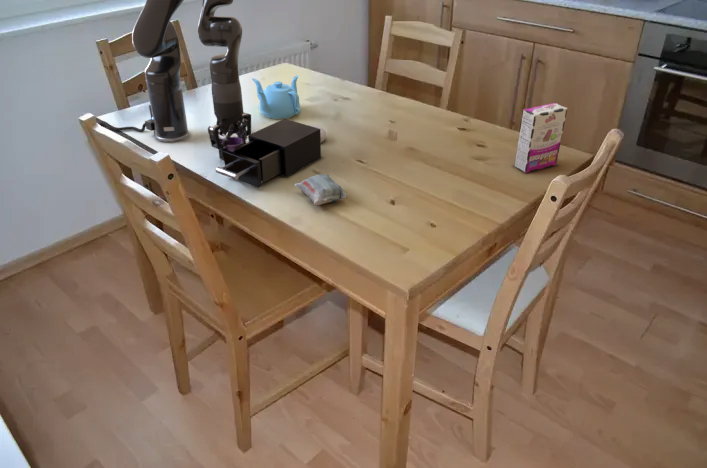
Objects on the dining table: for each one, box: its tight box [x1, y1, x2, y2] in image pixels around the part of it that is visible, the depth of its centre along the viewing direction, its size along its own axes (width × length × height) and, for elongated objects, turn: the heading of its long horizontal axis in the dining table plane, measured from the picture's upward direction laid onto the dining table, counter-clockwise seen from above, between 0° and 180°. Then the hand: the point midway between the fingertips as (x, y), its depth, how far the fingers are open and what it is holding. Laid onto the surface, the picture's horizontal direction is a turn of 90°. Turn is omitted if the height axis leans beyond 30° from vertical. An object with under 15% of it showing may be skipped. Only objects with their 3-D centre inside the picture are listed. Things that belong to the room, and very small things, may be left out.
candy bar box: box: [514, 102, 569, 174], centre depth 155 cm, size 11×5×16 cm, turn 117°
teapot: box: [251, 75, 302, 120], centre depth 186 cm, size 15×15×10 cm
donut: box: [307, 124, 327, 143], centre depth 171 cm, size 10×4×10 cm
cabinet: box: [247, 118, 322, 178], centre depth 157 cm, size 15×13×9 cm
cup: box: [222, 136, 244, 152], centre depth 159 cm, size 6×6×5 cm
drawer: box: [215, 140, 284, 189], centre depth 148 cm, size 19×11×7 cm, turn 145°
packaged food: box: [293, 173, 348, 206], centre depth 141 cm, size 9×12×5 cm
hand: (233, 155), depth 160 cm, fingers closed on cup, 6 cm apart
